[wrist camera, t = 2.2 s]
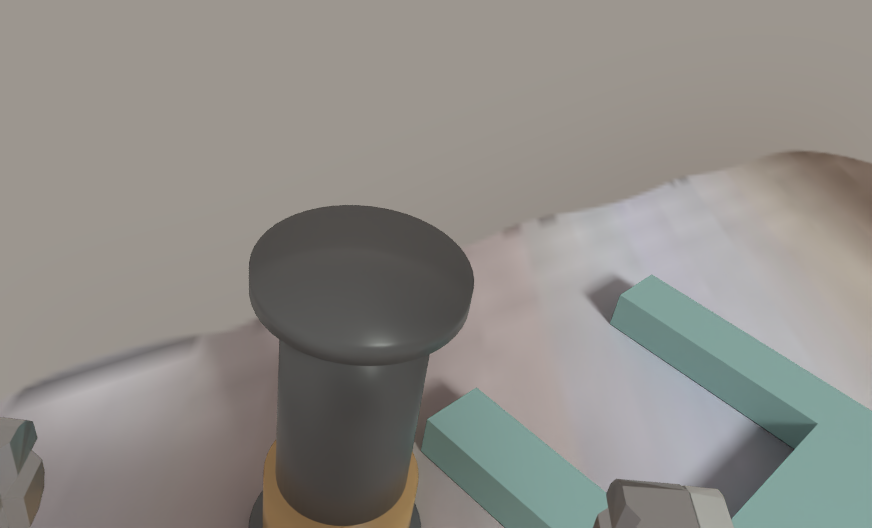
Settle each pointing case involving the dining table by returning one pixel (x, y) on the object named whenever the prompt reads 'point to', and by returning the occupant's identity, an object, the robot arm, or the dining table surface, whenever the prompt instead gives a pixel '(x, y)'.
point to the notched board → (718, 373)
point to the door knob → (352, 359)
